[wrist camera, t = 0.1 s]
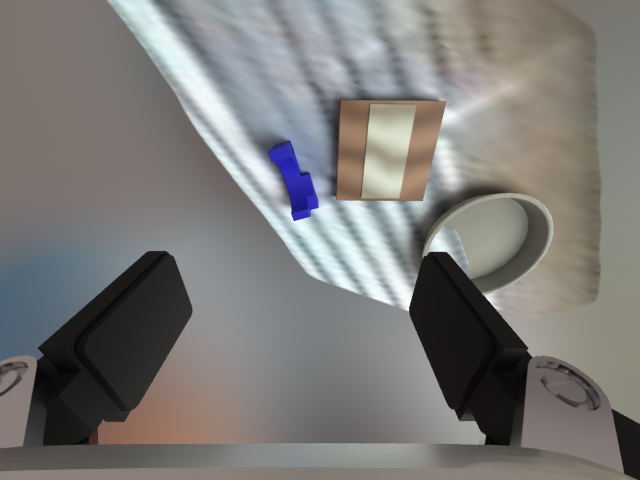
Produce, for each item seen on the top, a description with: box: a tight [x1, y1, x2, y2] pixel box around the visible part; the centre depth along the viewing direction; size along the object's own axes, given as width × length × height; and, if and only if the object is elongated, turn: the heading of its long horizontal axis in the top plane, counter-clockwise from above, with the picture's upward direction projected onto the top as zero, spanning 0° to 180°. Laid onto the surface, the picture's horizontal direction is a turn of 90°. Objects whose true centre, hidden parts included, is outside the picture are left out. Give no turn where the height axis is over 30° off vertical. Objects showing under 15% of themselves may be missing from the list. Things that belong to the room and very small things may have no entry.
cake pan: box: [422, 193, 553, 295], centre depth 50 cm, size 25×25×4 cm
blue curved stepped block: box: [268, 141, 318, 221], centre depth 41 cm, size 12×4×6 cm, turn 16°
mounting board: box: [336, 100, 446, 201], centre depth 41 cm, size 16×16×2 cm
